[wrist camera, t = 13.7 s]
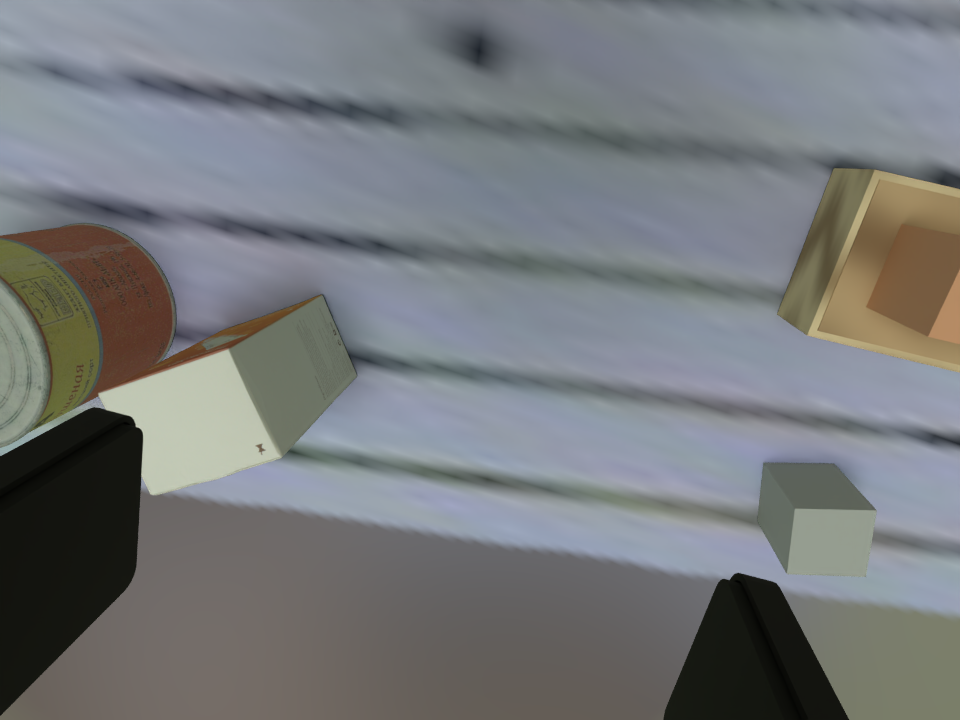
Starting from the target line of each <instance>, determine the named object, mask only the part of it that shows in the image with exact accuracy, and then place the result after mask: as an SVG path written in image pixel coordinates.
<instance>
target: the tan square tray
mask: <svg viewBox="0 0 960 720" xmlns="http://www.w3.org/2000/svg"><path fill="white" fill-rule="evenodd" d="M901 224H903V225H908V226H913V227H919V228H924V229H929V230H934V231H940V232H945V233H950V234H955V235H960V189H956V188H952V187H948V186H943V185H939V184H935V183H930V182H926V181H922V180H918V179H913V178H909V177H905V176H900V175H896V174H892V173H887V172H883V171H879V170H872V169H844V168H834V169H833V171H832V174H831V177H830V179H829V182H828V184H827V187H826V190H825V192H824V195H823V197H822V200H821V202H820V205H819V208H818V210H817V213H816V215H815V218H814V221H813V223H812V226H811V228H810V231H809V233H808V236H807V239H806V241H805V244H804V246H803V249H802V252H801V254H800V257H799V259H798V262H797V264H796V267H795V270H794V272H793V275H792V277H791V280H790V283H789V285H788V288H787V290H786V293H785V295H784V298H783V301H782V303H781V306H780V308H779V311H778V313H777V315H779V316H780V317H782V318H783V319H784V320H786V321H787V322H789V323H790V324H792V325H793V326H794V327H796V328H797V329H799V330H800V331H802V332H803V333H804V334H806V335H807V336H811V337H816V338H820V339H824V340H828V341H832V342H836V343H840V344H844V345H849V346H853V347H857V348H861V349H865V350H869V351H873V352H877V353H882V354H886V355H890V356H894V357H898V358H902V359H906V360H910V361H914V362H919V363H923V364H927V365H931V366H935V367H939V368H943V369H947V370H952V371H956V372H960V344H956V343H952V342H948V341H944V340H939V339H935V338H931V337H927V336H925V335H923V334H921V333H919V332H917V331H915V330H913V329H911V328H909V327H907V326H904V325H902V324H900V323H898V322H896V321H894V320H892V319H890V318H888V317H886V316H883V315H881V314H879V313H877V312H875V311H873V310H871V309H869V308H867V307H866V306H867V304H868V301H869V299H870V297H871V294H872V292H873V290H874V287H875V285H876V283H877V280H878V278H879V276H880V273H881V271H882V269H883V266H884V264H885V262H886V259H887V257H888V255H889V252H890V250H891V248H892V245H893V243H894V241H895V238H896V236H897V234H898V231H899V229H900V227H901Z"/></svg>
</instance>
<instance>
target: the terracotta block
mask: <svg viewBox="0 0 960 720" xmlns="http://www.w3.org/2000/svg"><path fill="white" fill-rule="evenodd" d="M866 307H867V308H869V309H871V310H873V311H875V312H877V313H879V314H881V315H883V316H886V317H888V318H890V319H892V320H894V321H896V322H898V323H900V324H902V325H904V326H907V327H909V328H911V329H913V330H915V331H917V332H919V333H921V334H923V335H925V336H927V337H931V338H935V339H939V340H944V341H948V342H952V343H956V344H960V235H955V234H950V233H945V232H940V231H934V230H929V229H924V228H919V227H913V226H908V225H903V224H901V227H900V229H899V231H898V234H897V236H896V238H895V241H894V243H893V245H892V248H891V250H890V252H889V255H888V257H887V259H886V262H885V264H884V266H883V269H882V271H881V273H880V276H879V278H878V280H877V283H876V285H875V287H874V290H873V292H872V294H871V297H870V299H869V301H868V304H867V306H866Z"/></svg>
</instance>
